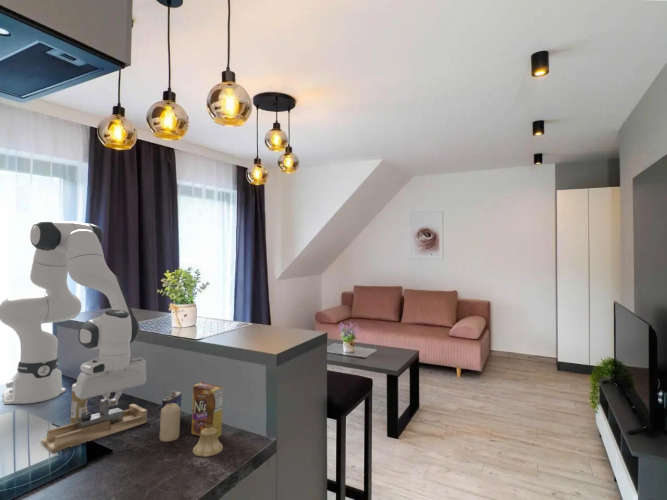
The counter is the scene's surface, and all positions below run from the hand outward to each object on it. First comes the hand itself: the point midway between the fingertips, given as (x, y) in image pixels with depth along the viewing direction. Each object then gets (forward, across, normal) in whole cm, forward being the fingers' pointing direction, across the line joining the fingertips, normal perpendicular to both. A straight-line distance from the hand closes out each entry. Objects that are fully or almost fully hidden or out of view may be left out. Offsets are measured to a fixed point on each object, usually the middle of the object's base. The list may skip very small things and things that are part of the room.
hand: (111, 405), depth 119 cm
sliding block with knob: (+6, +3, 0) cm, 7 cm away
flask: (+7, -14, +11) cm, 19 cm away
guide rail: (+7, +4, 0) cm, 8 cm away
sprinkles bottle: (+7, +6, -9) cm, 13 cm away
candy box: (+7, -16, +27) cm, 32 cm away
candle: (+7, -8, +20) cm, 23 cm away
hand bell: (+7, -11, +35) cm, 38 cm away
